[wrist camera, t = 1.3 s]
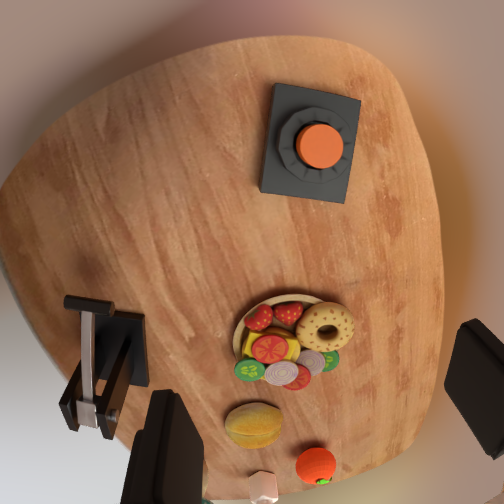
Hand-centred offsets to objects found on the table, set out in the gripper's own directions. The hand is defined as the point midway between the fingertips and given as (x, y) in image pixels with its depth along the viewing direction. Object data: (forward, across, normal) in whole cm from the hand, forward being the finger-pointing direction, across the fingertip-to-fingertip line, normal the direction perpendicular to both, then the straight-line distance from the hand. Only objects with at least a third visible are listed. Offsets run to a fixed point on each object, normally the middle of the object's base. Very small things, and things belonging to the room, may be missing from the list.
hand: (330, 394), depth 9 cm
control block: (+24, -5, -6) cm, 25 cm away
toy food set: (+24, -1, +16) cm, 29 cm away
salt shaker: (+24, +8, +50) cm, 56 cm away
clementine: (+24, -2, +44) cm, 50 cm away
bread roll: (+24, +6, +30) cm, 39 cm away
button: (+20, -5, -6) cm, 21 cm away
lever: (+16, +19, +9) cm, 27 cm away
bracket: (+24, +21, +13) cm, 34 cm away
